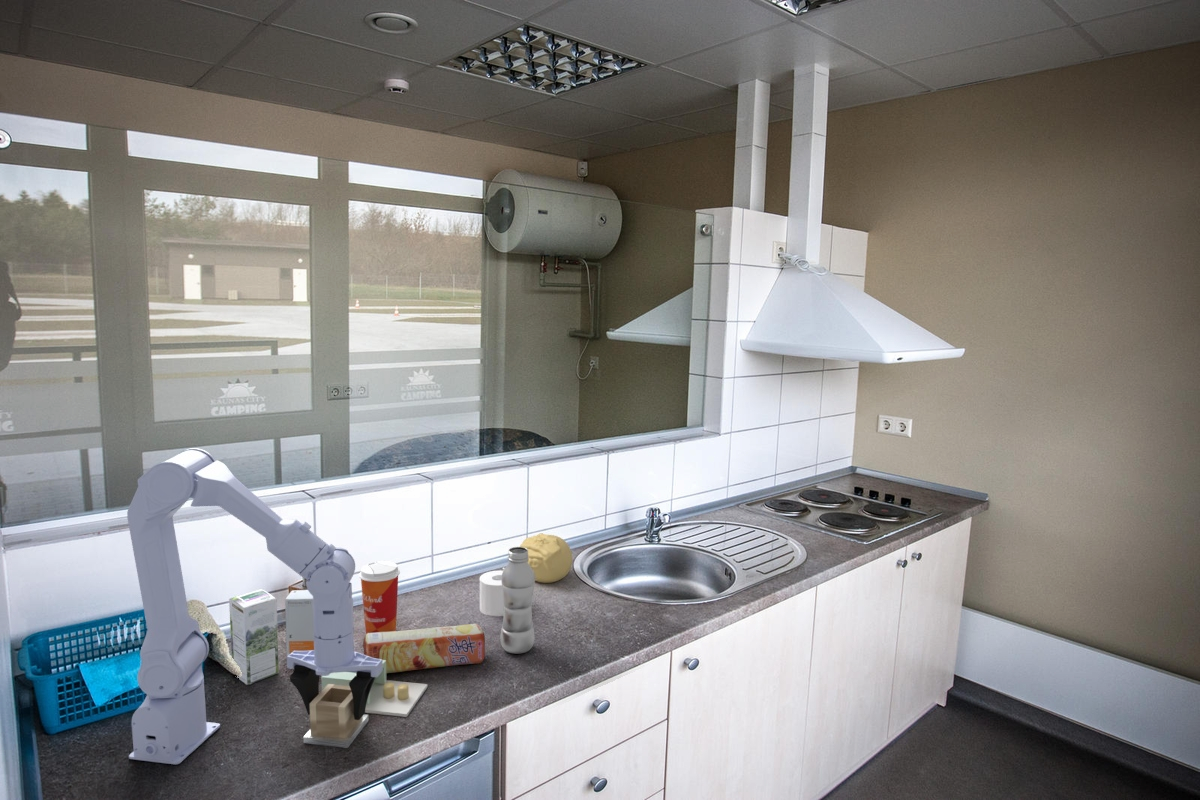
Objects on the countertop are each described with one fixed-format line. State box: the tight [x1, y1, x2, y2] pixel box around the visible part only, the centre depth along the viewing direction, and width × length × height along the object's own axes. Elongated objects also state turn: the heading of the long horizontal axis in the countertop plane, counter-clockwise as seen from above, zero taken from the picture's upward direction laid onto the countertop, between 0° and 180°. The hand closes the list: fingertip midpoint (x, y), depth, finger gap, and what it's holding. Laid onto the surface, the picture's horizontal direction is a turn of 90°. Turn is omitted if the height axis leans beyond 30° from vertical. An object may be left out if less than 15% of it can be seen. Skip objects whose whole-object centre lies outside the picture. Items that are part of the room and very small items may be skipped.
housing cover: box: [321, 660, 387, 704], centre depth 121 cm, size 7×8×4 cm
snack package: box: [362, 623, 486, 674], centre depth 131 cm, size 21×7×7 cm, turn 108°
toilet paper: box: [479, 567, 506, 617], centre depth 157 cm, size 8×11×7 cm
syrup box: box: [228, 588, 280, 686], centre depth 126 cm, size 6×6×14 cm
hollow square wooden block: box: [309, 684, 363, 738], centre depth 111 cm, size 6×6×5 cm
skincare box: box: [284, 589, 314, 657], centre depth 133 cm, size 6×4×12 cm
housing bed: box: [364, 679, 428, 718], centre depth 121 cm, size 9×15×2 cm, turn 82°
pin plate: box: [302, 713, 370, 749], centre depth 111 cm, size 7×7×4 cm
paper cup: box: [358, 560, 401, 635], centre depth 142 cm, size 8×8×14 cm
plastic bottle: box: [499, 546, 536, 655], centre depth 136 cm, size 6×7×20 cm
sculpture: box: [519, 533, 573, 584], centre depth 172 cm, size 12×12×11 cm
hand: (336, 713), depth 111 cm, fingers open, 7 cm apart
